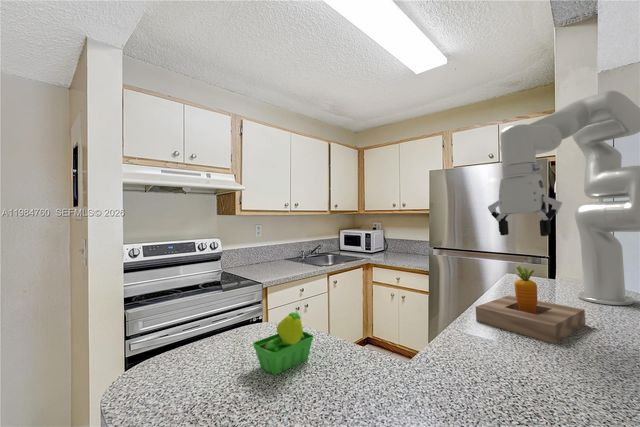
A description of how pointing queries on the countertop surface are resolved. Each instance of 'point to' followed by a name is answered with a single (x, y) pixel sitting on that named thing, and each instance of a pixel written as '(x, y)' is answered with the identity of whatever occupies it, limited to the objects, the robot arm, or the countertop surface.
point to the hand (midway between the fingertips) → (523, 235)
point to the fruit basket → (284, 346)
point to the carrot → (526, 291)
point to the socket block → (532, 318)
